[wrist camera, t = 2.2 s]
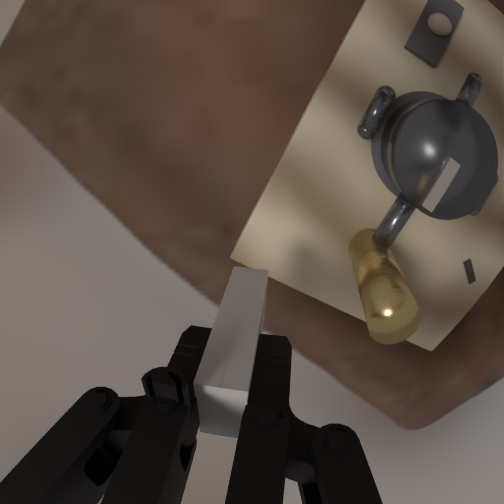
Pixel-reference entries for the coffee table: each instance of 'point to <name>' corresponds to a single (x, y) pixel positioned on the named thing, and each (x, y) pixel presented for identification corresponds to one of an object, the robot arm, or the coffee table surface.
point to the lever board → (372, 170)
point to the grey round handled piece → (420, 191)
